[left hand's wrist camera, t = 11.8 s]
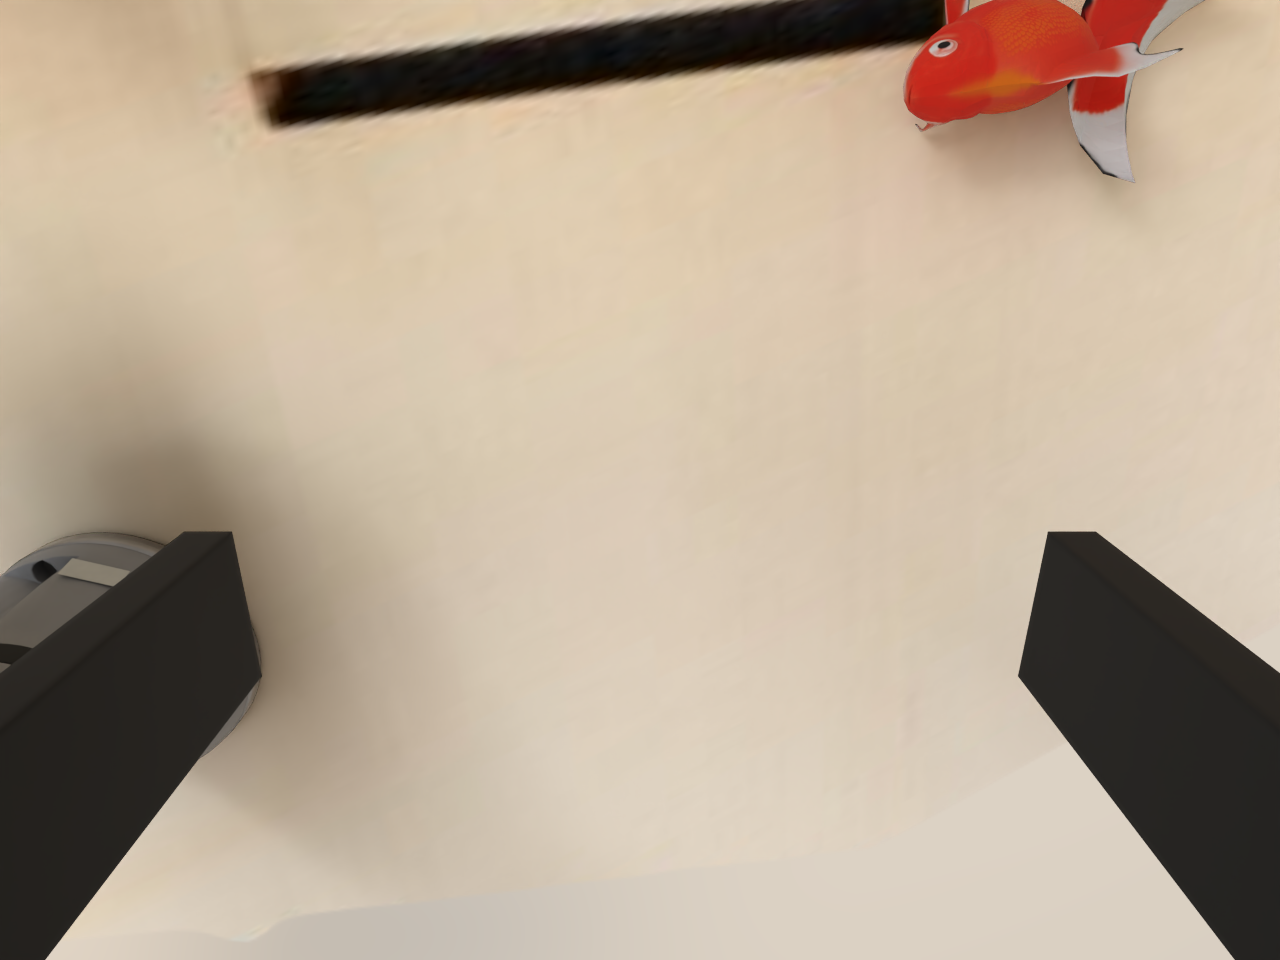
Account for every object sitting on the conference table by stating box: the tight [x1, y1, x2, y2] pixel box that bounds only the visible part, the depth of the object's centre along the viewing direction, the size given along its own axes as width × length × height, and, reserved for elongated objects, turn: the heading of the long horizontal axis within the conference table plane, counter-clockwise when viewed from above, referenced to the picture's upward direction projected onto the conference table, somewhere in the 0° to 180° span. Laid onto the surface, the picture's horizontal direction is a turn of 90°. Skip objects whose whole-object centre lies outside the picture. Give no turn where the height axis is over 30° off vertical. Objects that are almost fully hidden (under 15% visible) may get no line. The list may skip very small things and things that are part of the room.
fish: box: [903, 0, 1204, 183], centre depth 32 cm, size 11×16×10 cm
